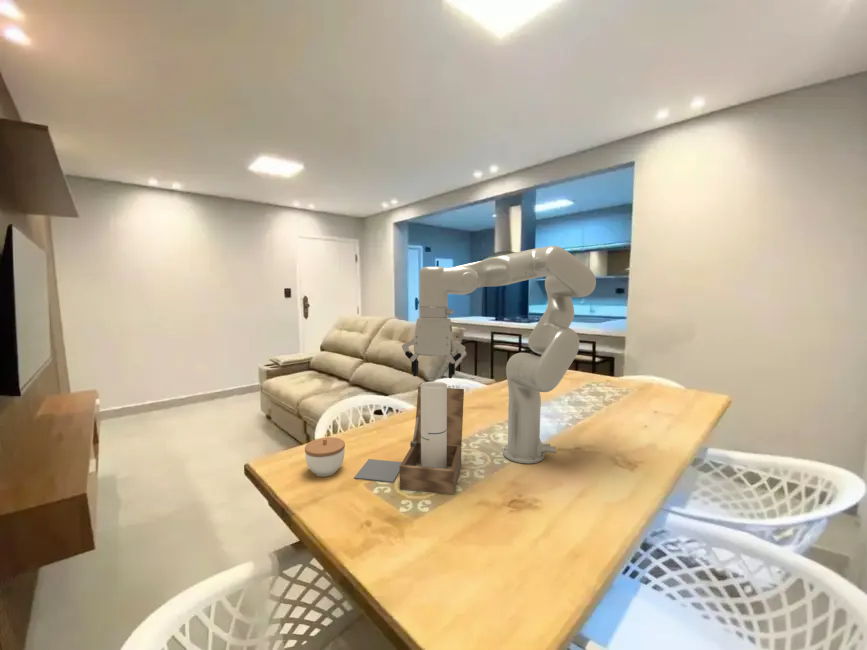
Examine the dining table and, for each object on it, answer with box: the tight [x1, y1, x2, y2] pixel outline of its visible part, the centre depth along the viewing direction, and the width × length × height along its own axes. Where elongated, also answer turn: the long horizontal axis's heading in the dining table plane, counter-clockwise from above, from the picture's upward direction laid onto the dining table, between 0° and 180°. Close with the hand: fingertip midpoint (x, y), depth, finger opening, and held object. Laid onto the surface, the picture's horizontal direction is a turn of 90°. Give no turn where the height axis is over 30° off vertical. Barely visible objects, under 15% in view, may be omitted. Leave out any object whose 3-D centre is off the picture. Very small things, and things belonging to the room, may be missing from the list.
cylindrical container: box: [420, 381, 448, 469], centre depth 103 cm, size 7×7×25 cm
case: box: [399, 386, 465, 495], centre depth 104 cm, size 14×22×21 cm, turn 169°
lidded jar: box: [304, 436, 346, 478], centre depth 104 cm, size 11×11×9 cm
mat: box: [353, 458, 402, 484], centre depth 105 cm, size 11×11×1 cm
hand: (433, 376), depth 101 cm, fingers open, 9 cm apart
